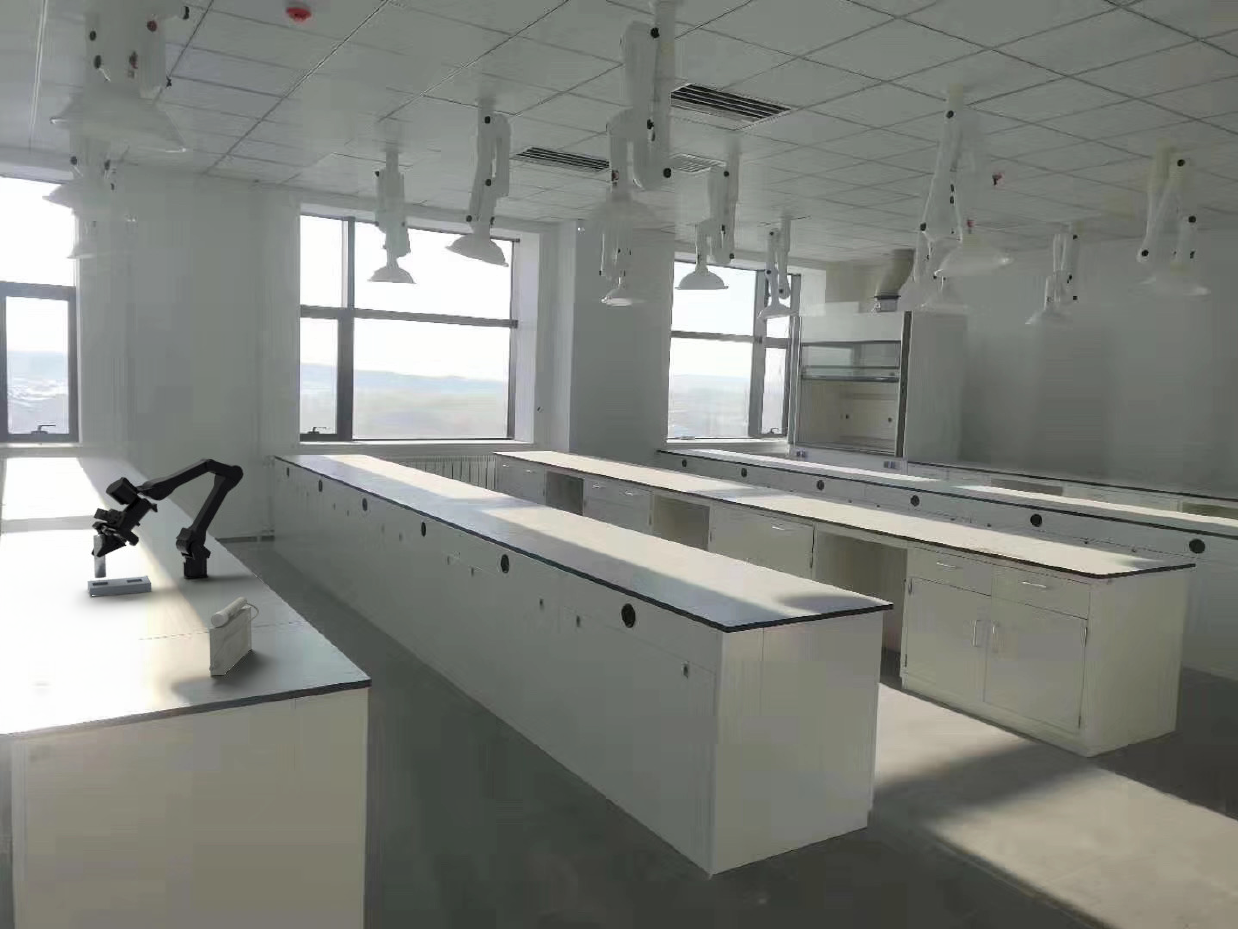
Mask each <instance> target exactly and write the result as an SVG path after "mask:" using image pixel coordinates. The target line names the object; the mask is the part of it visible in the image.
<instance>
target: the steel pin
mask: <svg viewBox="0 0 1238 929" xmlns="http://www.w3.org/2000/svg"><path fill="white" fill-rule="evenodd" d="M92 538H93V548H94V556H93V563H94V564H93V566H94V567H93V568H94V578H95V579H103V578H106V577H107V561H106V560H107V557H106V556H107V554H106V555H104V556H102V557H100V558H99V557H97V556H96V555H97V553H98V552H99V550H100V549H101V547H102V546H103V545H104V543H105V535H98V534H94V535H93V537H92Z"/></svg>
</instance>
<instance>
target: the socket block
mask: <svg viewBox="0 0 1238 929" xmlns="http://www.w3.org/2000/svg"><path fill="white" fill-rule="evenodd" d="M87 591H89V592H88V595H89V597H90V596H92V595H104V596H114V595H125V594H135V593H144V592H145V593H147V592H152V582H151V580H150V578H149V576H145V575H144V576H133V577H123V578H112V579H111V578H110V579H99V580H97V579H96V580H88V581H87Z"/></svg>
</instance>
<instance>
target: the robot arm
mask: <svg viewBox="0 0 1238 929" xmlns="http://www.w3.org/2000/svg"><path fill="white" fill-rule="evenodd" d="M207 473H210V474H212V475H214V478H213V486H212V489H211V490H210V492H209V494H208V496H207V498H206V499H205V501H204V503H203V505H202V506H201V508H200V509H199V511H198V513H197V515H196V516H195V519H194V520H193V522H192V524H191V525H190V526H188V527H181V529H180V532H179V533H178V535H177V536H176V537H175V539H176V541H175V548H176V549H177V551H178V552H180V555H181V557H183V558H184V560H183V561H182V575H183V576H184V578H186V579H187V580H188V579H197V578H196V577H201V578H208V577H209V574H208V559H209V558H210V557H211V554H212V552H211V550H210V549H208V548H207V546H205V545H206V540H207V532H208V529H209V527H210V526H211V523H212V521H213V520H214V519H215V516H216V514H217V513H218V511H219V509H220V508H221V506H222V505H223V502H224V501H225V499H226V497H227V495H228V493H229V492H231V491H232V490H233V489H235V487H237V485H238V484H239V483H240V482H241V480H242V479H243V477H244V471H243V468H242V467H241V466H240V465H237V464H231V463H223V462H220V461H217V460H214V459H212V458H209V457H207V458H206V457H202V458H201V459H199V460H198V461H196V462H194V463H191V464H190V465H187V466H186V467H183V468H181V469H180V470H178V471H176V472H173V473H171V474H169V475H166V476H161V477H157V478H156V477H155V478H153V479H149V480H147V481H144V482H143V483H142V484H140V485H137V486H135V485H134V484H133V483H131V481H130V480H129V479H128V478H127V477H125V476H121V477H120V478H119V479H117V480H115V481H113V482H112V483H110V484H109V485H108V486H107V488H106V490H105V494H107V495H108V496H109V497H110V498H111V499H113V500H114V501H115V502H117V504H119V505H120V506H124V505H125V508H123V510H118V509H114V508H110V509H108V510H107V509H104V508H99V507H97V509H96V511H95V513H94V515H93V518H94V519H95V520H99V521H95V522H93V524H92V525H91V528H92V529H94V530H95V531H96V532H97V535H105V543H104V545H103V546H102V547H101V549H100V550H99V552H98V553H97V555H96V556H97V557H99V558H100V557H102V556H104V555H106V556H107V555H108V554H110V553H112V552H114V551H116V550H120V549H122V548H124V547H127V546H128V545H129V546H132V547H136V546H137V545H138V544H139V543H140V537H139V536H138V535H137V534H136V533H134V531H133V530H134V529H135V527H140V526H141V523H140V522H141V521H142V519H144V518H145V516H146V515H147V514H148V513H149V512H151V513H157V514H158V513H159V510H158V504H157V503H156V502H155V503H154V502H151V501H152V500H153V501H158V502H159V501H163V500H165V499H166V498H168V497H169V496H171V494H173V493H174V491H175V490H176V489H178V488H179V487H181V486H182V485H185V484H187V483H189V482H191V481H193V480H195V479H197V478H199V477H201V476H203V475H205V474H207ZM139 495H140V496H139ZM141 496H143V498H142V497H141ZM149 500H151V501H149ZM127 542H129V543H128V545H127V544H126V543H127ZM90 554H91V556H93V557H94V547H93V549H92V550H91V553H90ZM186 579H185V580H186Z"/></svg>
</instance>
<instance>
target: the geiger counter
mask: <svg viewBox="0 0 1238 929" xmlns="http://www.w3.org/2000/svg"><path fill="white" fill-rule="evenodd" d="M252 607H253V608H254V609H255V610H256V613H255V615H253V616H252ZM259 611H260V610H259V608H258V607H257V606H256V605H254V604H252V603H249V602H248V600H247V598H246V597H244V596H239V597H238V598H236V599H235V600H234V601H232V602H231V603H230V604H228V605H226V606H225V608H223V609H222V610H218V611H217V612H215V613H214V614H213V615H212V616H211V617H210V624H211V625H212V626H211V627H210V628H209V660H210V661H209V668H208V669H209V671H210V672H209V673H210V674H209V675H224V674H225V673H226V672H227V671H228V670H229V669H231V668H232V667H233V665H235V664H236V663H237V662H238V661H239V660H240V659H241V658H242V657H243V656H244V657H246V655H247V654H248V653H249V652H250V651H249V650H251V648H253V644H252V641H253V640H252V636H253V635H252V621H253V620H254V619H256V618H257V617H258V615H259V613H260V612H259ZM248 651H249V652H248ZM251 651H252V650H251ZM247 652H248V653H247ZM246 653H247V654H246ZM245 654H246V655H245ZM244 657H243V658H244ZM243 658H242V659H243ZM242 659H241V660H242ZM241 660H240V661H241ZM240 661H239V662H240ZM239 662H238V663H239ZM238 663H237V664H238ZM237 664H236V665H237ZM236 665H235V666H236ZM233 668H234V667H233ZM233 668H232V669H233ZM232 669H231V670H232ZM224 676H225V675H224Z"/></svg>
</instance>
